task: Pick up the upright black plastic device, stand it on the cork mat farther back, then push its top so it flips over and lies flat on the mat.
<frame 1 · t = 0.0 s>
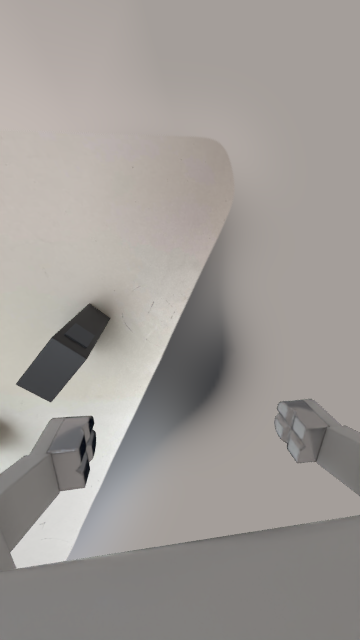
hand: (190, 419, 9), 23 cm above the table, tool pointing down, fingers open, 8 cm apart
device: (87, 326, 31), on the table
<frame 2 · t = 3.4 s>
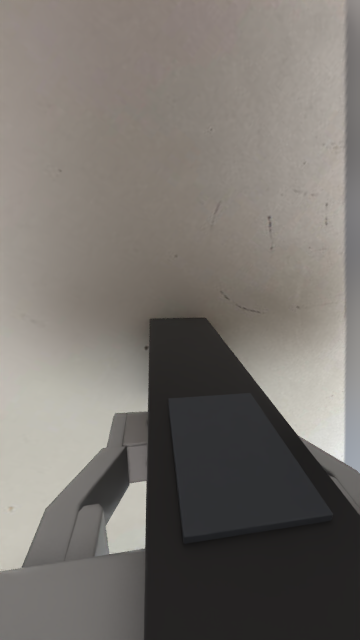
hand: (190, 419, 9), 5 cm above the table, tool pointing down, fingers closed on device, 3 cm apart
device: (177, 361, 14), on the table, touching gripper
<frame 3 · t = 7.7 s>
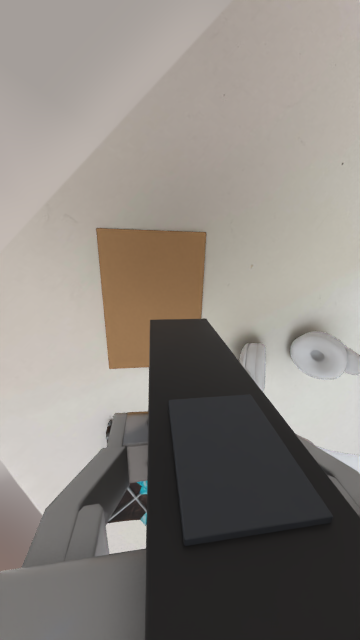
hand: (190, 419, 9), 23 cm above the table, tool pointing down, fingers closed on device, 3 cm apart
mat: (154, 304, 31), on the table
book: (151, 464, 41), on the table
device: (177, 361, 14), point 18 cm above the table, touching gripper
headphones: (272, 349, 36), on the table
when the fingers open (6 cm above the table, at t = 11.8 s): device stays where it is, resting on mat.
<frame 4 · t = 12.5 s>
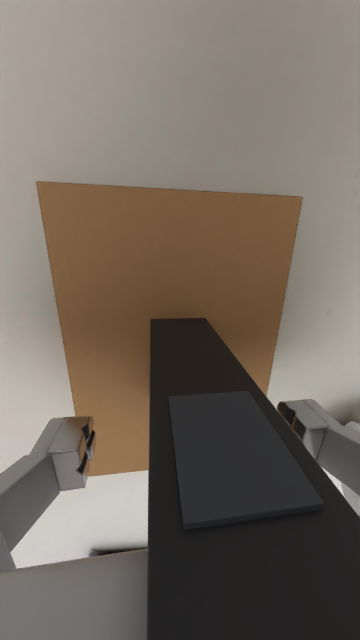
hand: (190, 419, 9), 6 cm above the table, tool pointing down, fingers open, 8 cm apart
mat: (176, 356, 15), on the table
device: (177, 360, 14), resting on mat
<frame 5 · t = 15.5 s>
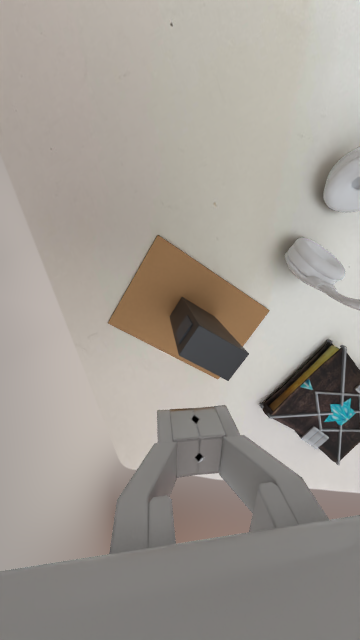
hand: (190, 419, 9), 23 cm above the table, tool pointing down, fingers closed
mat: (191, 315, 32), on the table
book: (324, 399, 41), on the table
device: (192, 316, 31), resting on mat
headphones: (314, 226, 30), on the table
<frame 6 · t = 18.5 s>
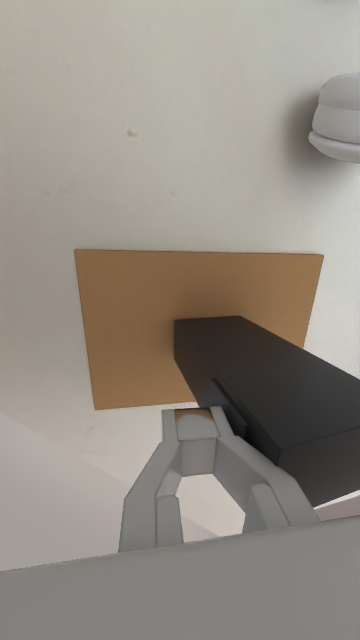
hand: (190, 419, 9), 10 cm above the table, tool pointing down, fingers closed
mat: (203, 333, 19), on the table
device: (207, 336, 18), point 1 cm above the table, tilted 7°, touching gripper, mat
headphones: (336, 51, 14), on the table
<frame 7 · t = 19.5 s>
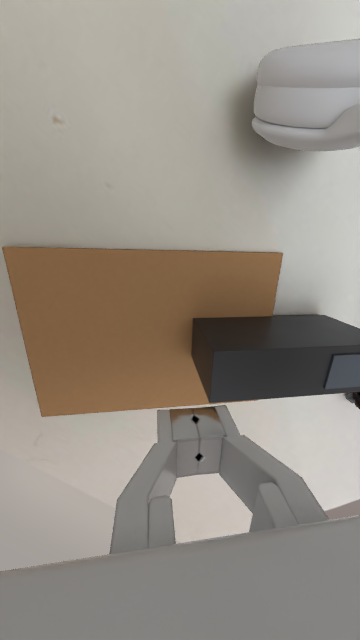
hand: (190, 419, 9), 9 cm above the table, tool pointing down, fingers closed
mat: (155, 336, 18), on the table
device: (199, 354, 15), point 3 cm above the table, tilted 90°, touching mat
headphones: (284, 26, 13), on the table
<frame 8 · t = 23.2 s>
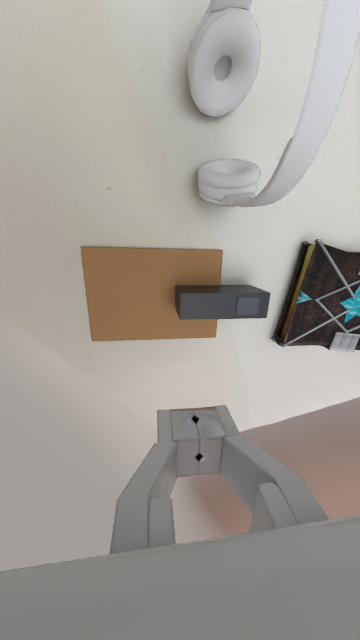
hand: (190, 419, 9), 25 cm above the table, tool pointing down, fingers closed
mat: (155, 296, 33), on the table
book: (338, 300, 37), on the table
device: (177, 301, 30), point 3 cm above the table, tilted 90°, touching mat
headphones: (215, 144, 28), on the table
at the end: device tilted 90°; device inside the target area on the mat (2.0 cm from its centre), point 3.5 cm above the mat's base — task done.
